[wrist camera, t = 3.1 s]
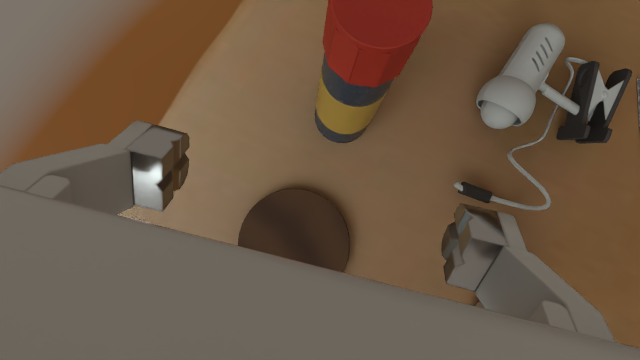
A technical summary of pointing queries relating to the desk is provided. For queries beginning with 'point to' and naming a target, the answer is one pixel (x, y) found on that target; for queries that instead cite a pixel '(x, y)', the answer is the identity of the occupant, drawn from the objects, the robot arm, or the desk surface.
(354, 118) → the spray can
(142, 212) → the desk surface
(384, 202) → the desk surface
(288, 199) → the coaster
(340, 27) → the cap
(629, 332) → the desk surface
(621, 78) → the clip-on lamp
